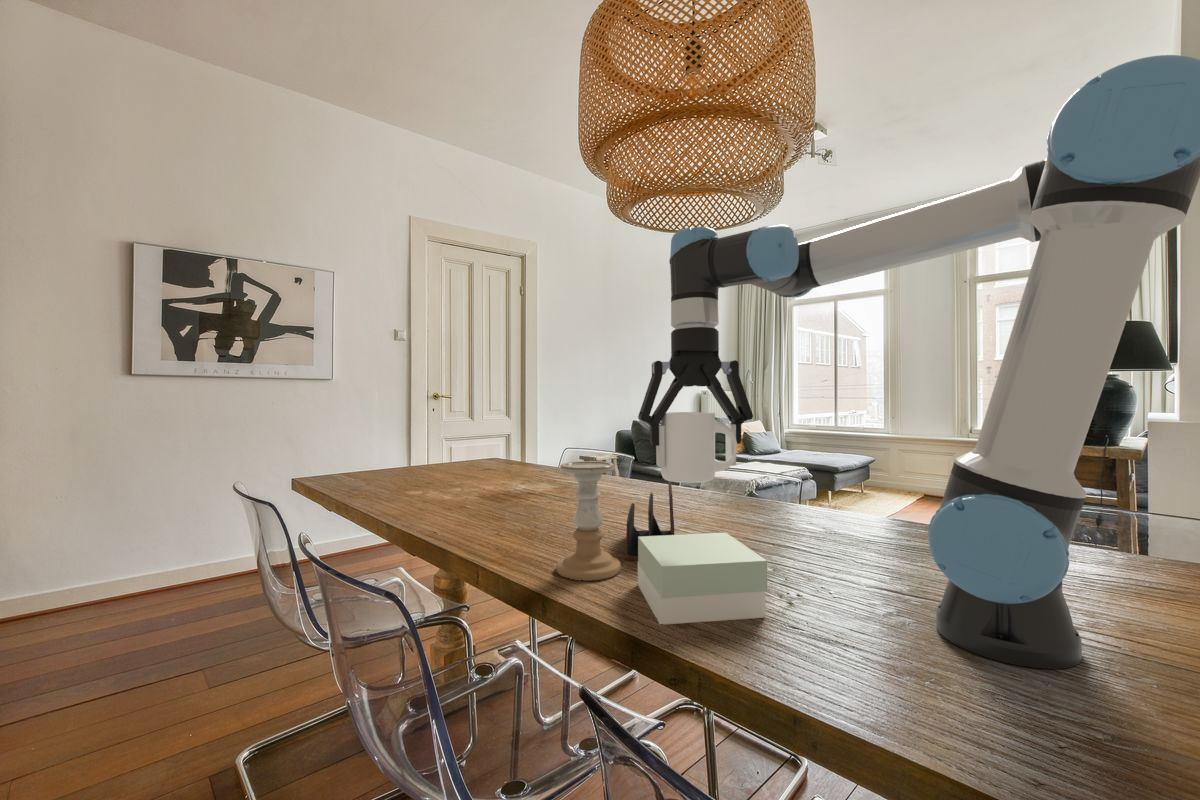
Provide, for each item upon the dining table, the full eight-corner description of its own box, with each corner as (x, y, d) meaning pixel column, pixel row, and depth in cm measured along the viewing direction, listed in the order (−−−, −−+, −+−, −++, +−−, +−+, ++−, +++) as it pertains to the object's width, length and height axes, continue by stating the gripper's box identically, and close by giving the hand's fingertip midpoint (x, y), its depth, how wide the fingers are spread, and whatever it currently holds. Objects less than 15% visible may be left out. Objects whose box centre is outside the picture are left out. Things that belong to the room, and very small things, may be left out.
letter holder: (673, 536, 123) (672, 476, 123) (675, 562, 103) (674, 491, 103) (631, 535, 124) (630, 476, 124) (625, 561, 104) (624, 491, 104)
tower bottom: (765, 621, 77) (765, 590, 77) (659, 628, 75) (659, 597, 75) (725, 582, 93) (725, 557, 93) (637, 587, 91) (637, 562, 91)
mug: (736, 485, 78) (736, 414, 78) (656, 482, 81) (656, 413, 81) (737, 477, 86) (737, 412, 86) (665, 474, 89) (665, 411, 89)
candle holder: (622, 581, 93) (621, 468, 92) (553, 582, 93) (552, 469, 92) (619, 559, 105) (618, 459, 105) (558, 560, 105) (557, 460, 105)
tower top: (767, 591, 77) (767, 560, 77) (662, 597, 75) (661, 566, 75) (726, 557, 93) (725, 532, 93) (638, 562, 90) (638, 536, 90)
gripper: (754, 331, 88) (756, 460, 89) (619, 331, 86) (620, 464, 86) (774, 325, 81) (775, 466, 81) (626, 325, 78) (628, 470, 78)
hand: (696, 465), depth 84 cm, fingers closed on mug, 11 cm apart
